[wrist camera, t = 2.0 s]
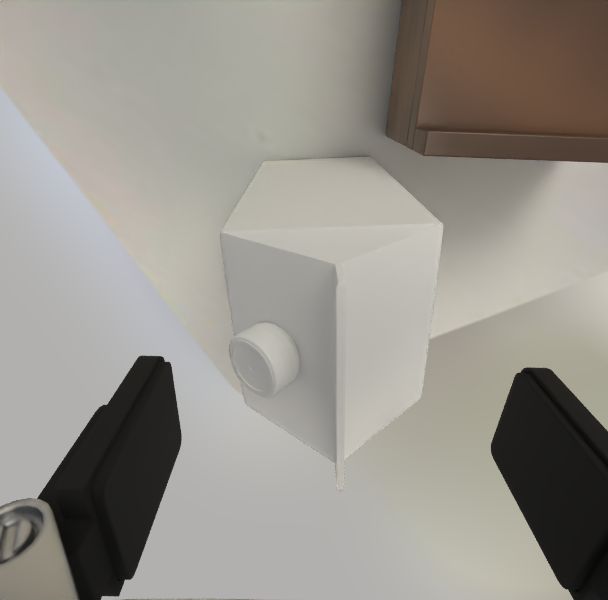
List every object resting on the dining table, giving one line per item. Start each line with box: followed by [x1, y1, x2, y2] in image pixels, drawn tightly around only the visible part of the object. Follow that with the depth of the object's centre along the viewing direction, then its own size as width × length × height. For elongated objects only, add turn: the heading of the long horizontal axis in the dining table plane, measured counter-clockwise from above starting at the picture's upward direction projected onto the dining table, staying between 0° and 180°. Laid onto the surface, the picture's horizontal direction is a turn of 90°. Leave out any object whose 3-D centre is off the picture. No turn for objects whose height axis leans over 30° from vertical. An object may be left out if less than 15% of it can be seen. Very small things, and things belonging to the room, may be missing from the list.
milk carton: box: [220, 157, 443, 491], centre depth 19 cm, size 7×7×19 cm
